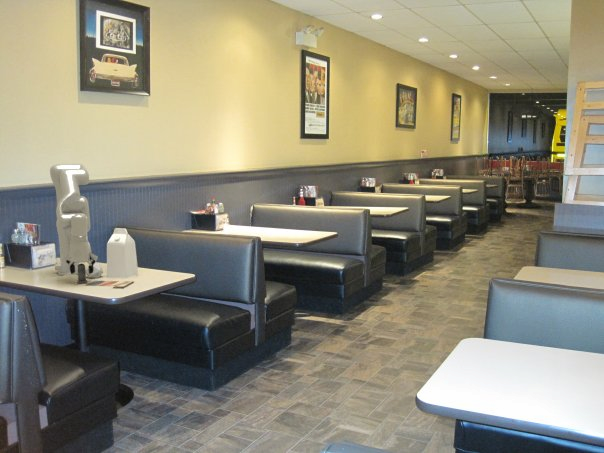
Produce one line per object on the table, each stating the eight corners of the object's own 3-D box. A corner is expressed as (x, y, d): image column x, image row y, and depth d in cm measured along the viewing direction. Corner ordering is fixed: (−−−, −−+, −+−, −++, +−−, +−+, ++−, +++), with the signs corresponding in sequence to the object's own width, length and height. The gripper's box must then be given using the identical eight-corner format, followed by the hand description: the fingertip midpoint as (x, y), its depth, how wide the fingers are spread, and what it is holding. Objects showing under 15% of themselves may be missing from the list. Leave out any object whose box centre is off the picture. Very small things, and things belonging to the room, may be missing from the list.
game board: (69, 287, 297) (69, 285, 296) (82, 281, 309) (82, 280, 309) (123, 288, 293) (123, 286, 293) (133, 282, 306) (133, 281, 306)
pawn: (75, 283, 300) (74, 264, 299) (80, 281, 305) (79, 262, 304) (84, 284, 300) (83, 264, 298) (89, 282, 304) (88, 262, 303)
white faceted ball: (92, 282, 310) (103, 266, 312) (79, 273, 311) (90, 258, 313) (98, 284, 318) (108, 269, 320) (84, 276, 319) (95, 261, 321)
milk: (138, 275, 324) (136, 227, 321) (126, 279, 313) (124, 230, 310) (118, 274, 328) (116, 227, 324) (106, 278, 317) (104, 229, 313)
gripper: (59, 240, 297) (62, 274, 299) (92, 240, 295) (94, 274, 296) (67, 238, 304) (69, 271, 306) (99, 238, 302) (101, 271, 304)
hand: (82, 273), depth 301 cm, fingers open, 9 cm apart
